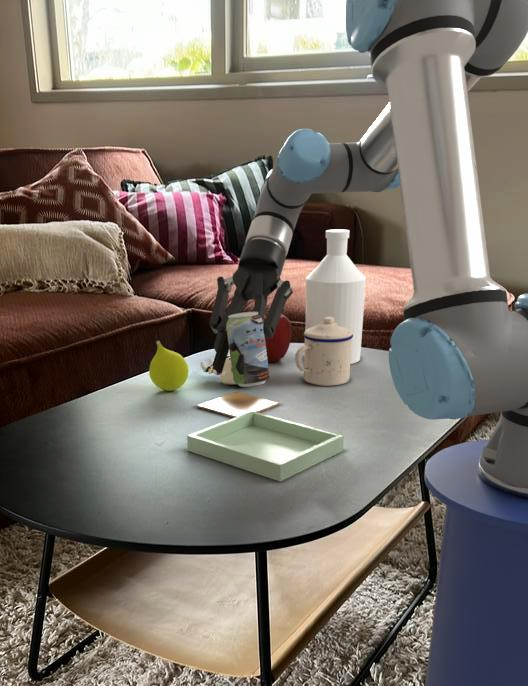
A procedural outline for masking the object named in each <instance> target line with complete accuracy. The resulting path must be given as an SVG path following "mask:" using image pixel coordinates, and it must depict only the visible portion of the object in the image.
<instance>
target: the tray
mask: <svg viewBox="0 0 528 686" xmlns="http://www.w3.org/2000/svg"><path fill="white" fill-rule="evenodd" d="M186 439H187V440H186V442H187V451H188V452H190V453H191V452H192V453H194V454H196V455H200V456H203V457H206V458H209V459H212V460H214V461H217V462H220V463H224V464H226V465H229V466H232V467H235V468H239V469H241V470H244V471H247V472H250V473H253V474H255V475H259V476H261V477H262V476H263V477H265V478H268V479H271V480H275V481H277V482H283V481H284V480H287V479H288V478H290V477H293V476H295V475H297V474H299V473H301V472H303V471H305V470H307V469H309V468H311V467H313V466H315V465H317V464H319V463H321V462H324V461H325V460H328V459H330V458H332V457H334V456H335V455H336V456H337V455H338V454H340V453H342V452H344V441H345V440H344V439H345V435H342V434H339V433H335V432H332V431H329V430H325V429H322V428H321V429H320V428H317V427H313V426H309V425H306V424H302V423H300V422H299V423H298V422H295V421H291V420H287V419H284V418H280V417H276V416H273V415H270V414H265V413H262V412H259V413H258V412H255V411H251V412H248V413H246V414H243V415H240V416H238V417H235V418H233V417H231V418H230V419H227V420H224V421H221V422H219V423H217V424H216V423H215V424H214V425H211V426H208V427H206V428H204V429H200V430H198V431H196V432H193V433H190V434H187V436H186Z"/></svg>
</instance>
